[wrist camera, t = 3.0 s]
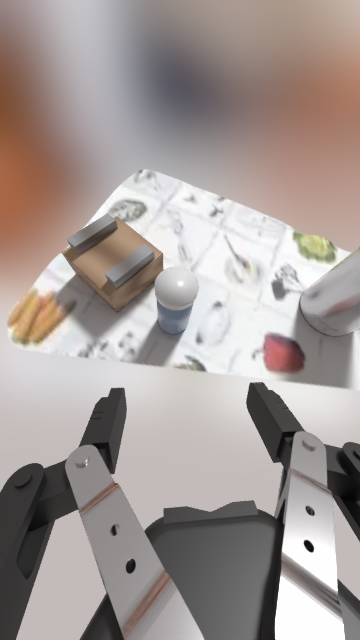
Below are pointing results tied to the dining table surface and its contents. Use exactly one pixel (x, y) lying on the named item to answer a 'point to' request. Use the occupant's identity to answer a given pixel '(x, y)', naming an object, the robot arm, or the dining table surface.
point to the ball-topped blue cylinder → (175, 298)
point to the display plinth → (114, 260)
